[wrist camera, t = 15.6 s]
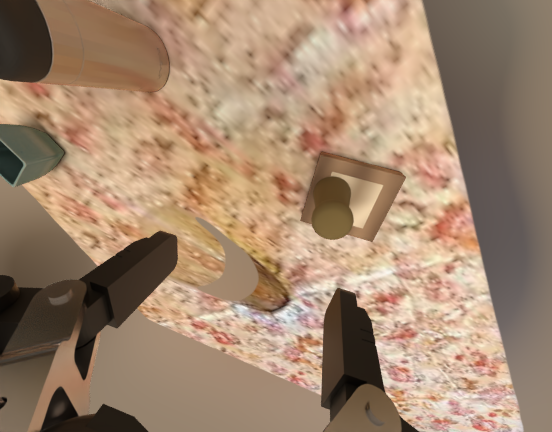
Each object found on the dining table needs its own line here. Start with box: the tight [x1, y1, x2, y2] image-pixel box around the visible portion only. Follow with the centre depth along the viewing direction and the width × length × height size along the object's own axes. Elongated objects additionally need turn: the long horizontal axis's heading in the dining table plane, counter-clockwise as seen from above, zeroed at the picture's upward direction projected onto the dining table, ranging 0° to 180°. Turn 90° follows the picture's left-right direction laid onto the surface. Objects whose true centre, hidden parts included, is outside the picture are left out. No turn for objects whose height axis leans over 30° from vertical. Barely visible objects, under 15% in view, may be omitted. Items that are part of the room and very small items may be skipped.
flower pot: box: [0, 124, 64, 187], centre depth 44 cm, size 9×9×9 cm
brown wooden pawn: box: [311, 176, 354, 240], centre depth 31 cm, size 6×6×11 cm
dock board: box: [300, 152, 406, 242], centre depth 37 cm, size 13×12×3 cm
